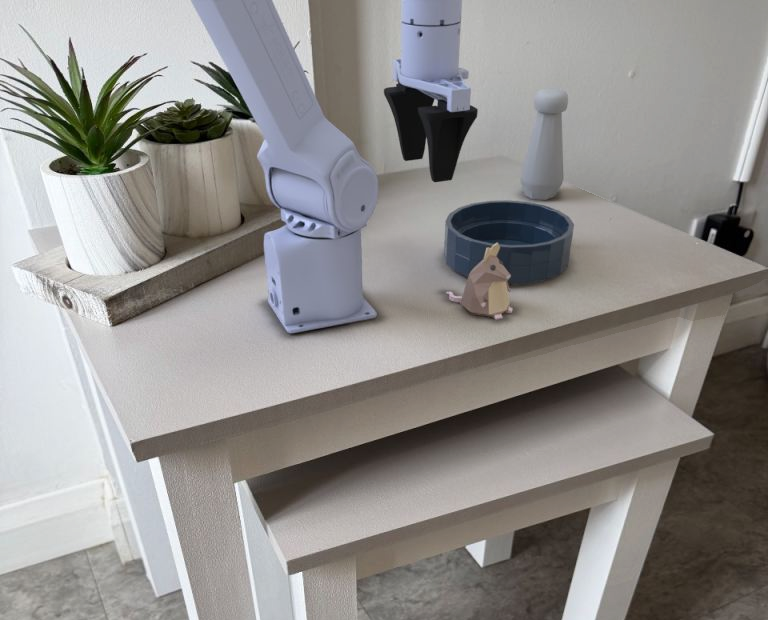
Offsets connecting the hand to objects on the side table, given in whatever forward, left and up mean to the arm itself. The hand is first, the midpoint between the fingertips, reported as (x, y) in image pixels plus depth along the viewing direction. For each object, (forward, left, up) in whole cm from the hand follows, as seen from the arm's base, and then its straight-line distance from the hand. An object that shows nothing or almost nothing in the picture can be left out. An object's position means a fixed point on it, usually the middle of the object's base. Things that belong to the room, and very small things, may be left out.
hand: (426, 169), depth 84 cm
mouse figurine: (+1, -12, -11) cm, 16 cm away
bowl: (+9, -3, -10) cm, 14 cm away
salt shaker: (+24, +15, -11) cm, 30 cm away
